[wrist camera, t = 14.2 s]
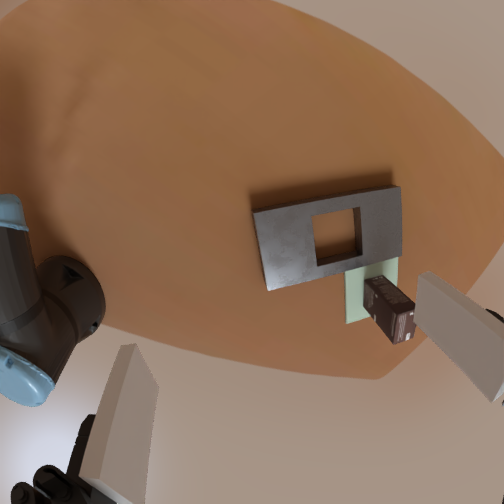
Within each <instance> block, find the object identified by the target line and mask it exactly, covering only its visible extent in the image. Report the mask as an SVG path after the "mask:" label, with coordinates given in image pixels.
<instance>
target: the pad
mask: <svg viewBox="0 0 504 504" xmlns="http://www.w3.org/2000/svg"><path fill="white" fill-rule="evenodd" d="M397 274H398V257H396V258H393V259H389V260H385V261H382V262H378V263H375V264H371V265H368V266H364V267H360V268H357V269H353V270H349V271H345V272H344V285H345V322H346V324H348V323H351V322H354V321H357V320H360V319H364V318H367V317H370V315H369V313H368V312H367V311H366V310H365V308H364V307H363V302H364V280H365V279H368V278H371V277H375V276H378V275H384V276H385V277H386V278H387V279H388V280H390V281H391V282H392V283H393V284H394V285H395V286H396V287H397Z"/></svg>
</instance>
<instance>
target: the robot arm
mask: <svg viewBox="0 0 504 504" xmlns="http://www.w3.org/2000/svg"><path fill="white" fill-rule="evenodd" d="M28 231H29V229H28V227H27V226H26V222H25V217H24V211H23V206H22V203H21V201H20V199H19V198H18V197H17V196H16V195H14V194H0V393H1V394H3V395H4V396H5V397H7V398H9V399H10V400H12V401H14V402H16V403H19V404H21V405H24V406H29V407H35V406H39V405H41V404H43V403H44V402H45V401H46V399H47V397H48V395H49V394H50V392H51V391H52V390H53V389H54V387H55V385H56V383H57V381H58V379H59V376H60V374H61V373H62V370H63V369H64V366H65V365H66V363H67V361H68V359H69V357H70V355H71V353H72V351H73V350H74V348H75V346H76V344H78V343H79V342H81V341H82V340H84V339H86V338H87V337H89V336H90V335H92V334H93V333H94V332H95V331H96V330H97V329H98V327H99V325H100V324H101V322H102V320H103V318H104V315H105V308H106V305H105V298H104V294H103V291H102V288H101V286H100V284H99V282H98V281H97V279H96V278H95V276H94V275H93V274H92V273H91V272H90V270H89V269H88V268H86V267H85V266H84V265H83V264H81V263H80V262H78V261H77V260H75V259H72V258H69V257H66V256H54V257H51V258H48V259H47V260H45V261H44V262H43V263H42V264H40V265H39V266H38V267H37V268H35V263H34V259H33V255H32V250H31V245H30V240H29V235H28ZM413 322H414V323H415V324H416V325H417V326H418V327H419V328H420V329H421V330H422V331H423V332H424V333H425V334H426V335H427V336H428V337H429V338H430V339H431V340H432V341H433V342H435V344H436V345H437V346H438V347H439V348H440V349H441V350H442V351H443V352H444V353H445V354H446V355H447V356H448V357H449V358H450V359H451V360H452V361H453V362H454V363H455V364H456V365H457V366H458V367H459V368H460V369H461V370H462V371H463V373H465V375H466V376H467V377H468V378H469V379H470V380H471V381H472V382H473V383H474V384H475V386H476V387H477V388H478V389H479V390H480V391H481V392H482V393H483V394H484V395H485V397H486V398H487V399H488V400H489V401H490V402H491V403H492V402H494V401H495V400H496V399H497V398H499V397H500V396H501V395H502V394H503V392H504V318H503V317H501V316H500V315H499V314H497V313H496V312H494V311H491V310H489V309H484V308H482V307H481V306H480V305H478V304H477V303H476V302H474V301H473V300H471V299H470V298H469V297H467V296H466V295H464V294H463V293H462V292H460V291H459V290H457V289H456V288H454V287H453V286H452V285H450V284H449V283H447V282H446V281H444V280H443V279H441V278H440V277H438V276H437V275H435V274H434V273H432V272H431V271H428V272H425V273H423V274H420V275H418V286H417V296H416V304H415V312H414V319H413ZM158 389H159V386H158V384H157V383H156V381H155V379H154V377H153V375H152V373H151V372H150V370H149V368H148V366H147V364H146V362H145V360H144V358H143V356H142V354H141V352H140V350H139V348H138V346H137V344H129V345H122V346H121V347H120V350H119V352H118V355H117V357H116V360H115V362H114V365H113V368H112V370H111V373H110V376H109V379H108V381H107V384H106V387H105V390H104V393H103V395H102V399H101V401H100V404H99V407H98V411H97V413H96V415H93V414H89V415H88V416H87V418H86V419H85V420H84V421H83V422H82V424H81V426H80V429H79V432H78V437H77V438H76V442H75V444H76V445H74V448H73V451H72V455H71V458H70V461H69V465H68V469H67V472H66V474H64V473H63V472H62V471H61V470H60V469H58V468H57V467H55V466H53V465H45V466H42V467H41V468H39V469H38V470H37V471H36V473H35V475H34V478H33V487H34V488H33V487H32V486H31V485H29V484H28V483H26V482H19V483H17V484H16V485H15V486H14V487H13V489H12V491H11V504H117V503H118V504H145V494H146V481H147V471H148V461H149V453H150V445H151V437H152V429H153V422H154V414H155V408H156V402H157V395H158ZM502 406H504V400H503V402H502ZM502 504H504V497H503V502H502Z"/></svg>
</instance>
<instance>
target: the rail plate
mask: <svg viewBox="0 0 504 504" xmlns="http://www.w3.org/2000/svg"><path fill="white" fill-rule="evenodd" d="M350 208H353V212H354V225H355V240H356V250H355V251H351V252H347V253H343V254H339V255H335V256H330V257H326V258H322V259H318V260H316V253H315V244H314V235H313V227H312V219H311V216H314V215H319V214H324V213H329V212H334V211H339V210H344V209H350ZM251 211H252V216H253V222H254V227H255V232H256V237H257V243H258V248H259V253H260V259H261V264H262V269H263V275H264V280H265V284H266V287H267V289H268V291H269V290H273V289H277V288H281V287H286V286H290V285H294V284H298V283H302V282H306V281H310V280H314V279H318V278H322V277H326V276H330V275H334V274H338V273H341V272H345V271H349V270H353V269H357V268H360V267H364V266H368V265H371V264H375V263H378V262H382V261H385V260H389V259H393V258H396V257H399V256H402V206H401V187H399V186H395V185H387V186H380V187H374V188H368V189H361V190H355V191H349V192H343V193H338V194H332V195H326V196H321V197H315V198H310V199H304V200H299V201H294V202H289V203H283V204H278V205H273V206H268V207H263V208H258V209H254V210H251Z"/></svg>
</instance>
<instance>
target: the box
mask: <svg viewBox="0 0 504 504" xmlns="http://www.w3.org/2000/svg"><path fill="white" fill-rule="evenodd" d="M363 307H364V308H365V310H366V311H367V312H368V313H369V315H370V316H371V317H372V318H373V320H374V321H375V322H376V323H377V324H378V326H379V327H380V328H381V329H382V331H383V332H384V333H385V334H386V336H387V337H388V338H389V340H390V341H391V342H392V344H393V345H394V344H397V343H400V342H403V341H406V340H408V339H411V338H413V337H414V332H415V328H416V324H415V323H414V322H413V319H414V312H415V303H414V302H413V301H412V300H411V299H410V298H408V297H407V296H406V295H405V294H404V293H403V292H402V291H401V290H400V289H399V288H397V287H396V286H395V285H394V284H393V283H392V282H391V281H390V280H388V279H387V278H386V277H385V276H384V275H378V276H375V277H371V278H368V279H365V280H364V302H363Z"/></svg>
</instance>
